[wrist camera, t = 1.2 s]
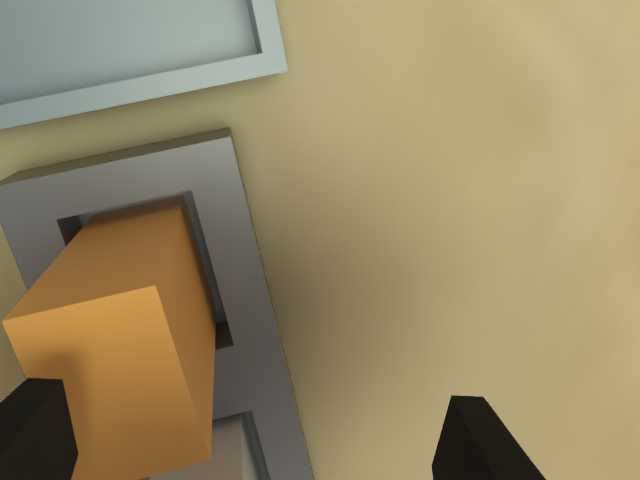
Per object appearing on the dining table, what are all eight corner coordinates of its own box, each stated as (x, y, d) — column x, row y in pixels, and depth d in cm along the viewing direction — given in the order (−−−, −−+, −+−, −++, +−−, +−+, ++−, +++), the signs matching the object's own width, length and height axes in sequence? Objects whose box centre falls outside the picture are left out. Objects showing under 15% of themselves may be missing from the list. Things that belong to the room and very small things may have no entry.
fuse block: (156, 539, 23) (149, 592, 21) (17, 171, 18) (-14, 188, 16) (317, 494, 24) (327, 542, 21) (229, 127, 19) (230, 136, 16)
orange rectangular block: (133, 330, 20) (76, 496, 12) (94, 214, 18) (2, 320, 11) (216, 310, 20) (210, 460, 12) (184, 194, 18) (155, 285, 11)
